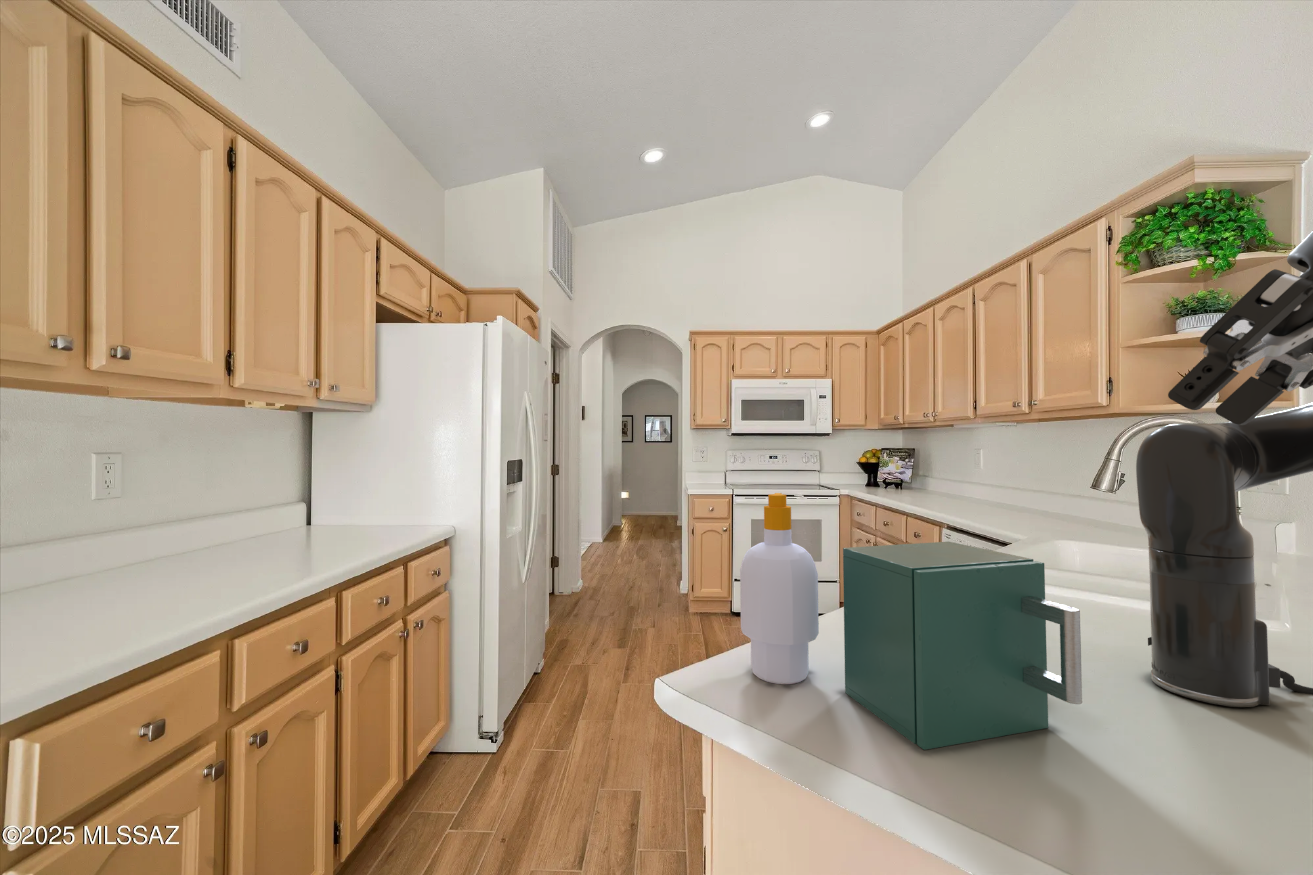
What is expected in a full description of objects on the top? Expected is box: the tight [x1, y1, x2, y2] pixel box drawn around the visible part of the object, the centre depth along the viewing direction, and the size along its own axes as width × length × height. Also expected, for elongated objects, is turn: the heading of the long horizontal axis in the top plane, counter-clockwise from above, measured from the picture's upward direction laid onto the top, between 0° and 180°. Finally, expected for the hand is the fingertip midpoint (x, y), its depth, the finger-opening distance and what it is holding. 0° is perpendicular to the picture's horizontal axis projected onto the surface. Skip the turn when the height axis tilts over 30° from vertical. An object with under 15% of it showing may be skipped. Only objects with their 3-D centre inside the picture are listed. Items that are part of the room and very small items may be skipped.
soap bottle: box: [739, 492, 820, 685], centre depth 72 cm, size 10×10×24 cm
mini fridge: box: [842, 541, 1035, 745], centre depth 62 cm, size 12×16×18 cm
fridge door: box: [914, 560, 1083, 751], centre depth 53 cm, size 6×16×18 cm, turn 105°
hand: (1204, 412), depth 44 cm, fingers open, 8 cm apart
